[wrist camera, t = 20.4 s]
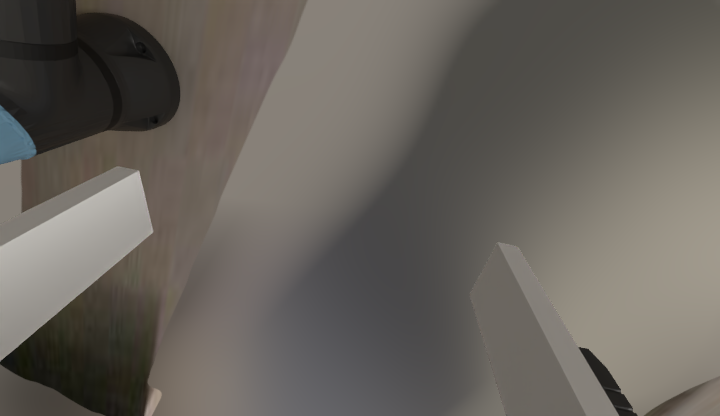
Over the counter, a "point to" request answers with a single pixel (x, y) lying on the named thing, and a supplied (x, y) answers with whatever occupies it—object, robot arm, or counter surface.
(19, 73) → the robot arm
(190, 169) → the counter surface
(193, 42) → the counter surface
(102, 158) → the counter surface
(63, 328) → the counter surface
